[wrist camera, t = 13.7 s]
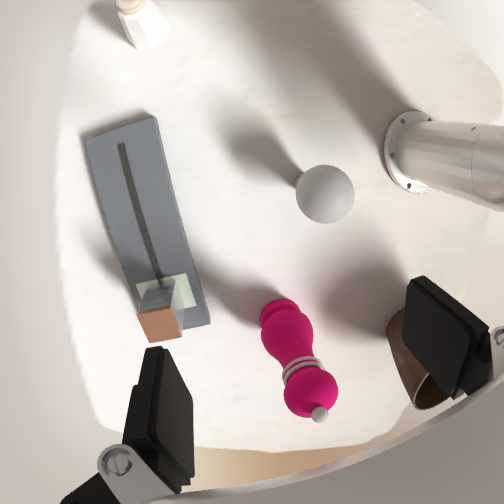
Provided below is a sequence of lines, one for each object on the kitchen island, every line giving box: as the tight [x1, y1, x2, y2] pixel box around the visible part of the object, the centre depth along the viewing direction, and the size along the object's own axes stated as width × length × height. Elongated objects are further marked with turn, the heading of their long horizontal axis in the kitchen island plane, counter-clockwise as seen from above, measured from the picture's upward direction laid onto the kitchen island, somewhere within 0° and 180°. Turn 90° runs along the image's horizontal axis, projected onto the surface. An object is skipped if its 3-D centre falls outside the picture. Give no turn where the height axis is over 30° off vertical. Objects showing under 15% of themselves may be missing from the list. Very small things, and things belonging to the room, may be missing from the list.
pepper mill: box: [260, 299, 338, 423], centre depth 35 cm, size 7×7×20 cm
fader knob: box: [137, 280, 185, 343], centre depth 34 cm, size 4×4×7 cm
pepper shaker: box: [115, 0, 170, 49], centre depth 22 cm, size 5×5×11 cm
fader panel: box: [85, 117, 210, 330], centre depth 35 cm, size 9×28×2 cm, turn 11°
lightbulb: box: [295, 165, 354, 223], centre depth 32 cm, size 6×6×11 cm
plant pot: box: [387, 309, 451, 410], centre depth 42 cm, size 15×15×16 cm
